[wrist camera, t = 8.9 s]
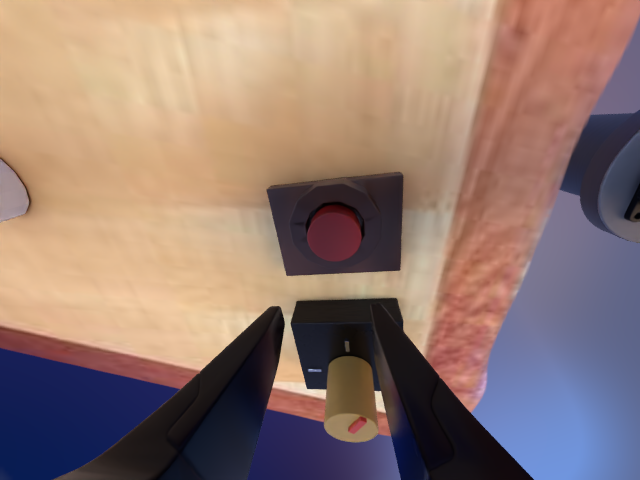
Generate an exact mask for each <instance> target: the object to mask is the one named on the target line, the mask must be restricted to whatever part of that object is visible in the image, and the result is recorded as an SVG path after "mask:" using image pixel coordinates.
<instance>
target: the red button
mask: <svg viewBox="0 0 640 480" xmlns="http://www.w3.org/2000/svg"><path fill="white" fill-rule="evenodd" d="M361 238H362V236H361V229H360V223H359V220H358V218H357V216H356V215H355V213H354V212H353V211H352V210H350V209H349V208H347V207H344V206H341V205H329V206H325V207H323V208H321V209H320V210H319V211H317V212H316V213H315V215H314V216H313V218H312V221H311V223H310V226H309V229H308V233H307V240H308V244H309V246H310V248H311V250H312V251H313V252H314V253H315V254H316V255H317V256H318V257H320V258H322V259H324V260H327V261H343V260H346V259H348V258H350V257H351V256H352V255H354V254H355V253H356V252H357V250H358V249H359V247H360V244H361Z"/></svg>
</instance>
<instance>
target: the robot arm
mask: <svg viewBox="0 0 640 480" xmlns="http://www.w3.org/2000/svg"><path fill="white" fill-rule="evenodd" d="M624 219H626V220H628V221H631V222H640V183H639V185H638V187H637V189H636V191H635V194H634V196H633V198H632V200H631V202H630V204H629V206H628V208H627V210H626V212H625V214H624ZM370 314H371V329H372V338H373V348H374V358H375V365H376V370H377V375H378V379H379V384H380V388H381V393H382V397H383V401H384V406H385V410H386V415H387V419H388V424H389V428H390V433H391V437H392V442H393V446H394V451H395V455H396V460H397V464H398V469H399V473H400V478H401V480H534V479H533V478H532V477H531V476H530V475H529V474H528V473H527V472H526V471H525V470H524V469H523V468H522V467H521V466H520V465H519V463H518V462H517V461H516V460H515V459H514V458H513V457H512V456H511V455H510V454H509V453H508V452H507V451H506V450H505V449H504V448H503V447H502V446H501V445H500V444H499V443H498V442H497V441H496V440H495V438H494V437H493V436H491V434H490V433H489V432H488V431H487V430H486V429H485V428H484V427H483V426H482V425H481V424H480V423H479V422H478V421H477V420H476V418H475V417H474V416H473V415H472V414H471V413H470V412H469V411H468V410H467V409H466V408H465V406H464V405H463V404H462V403H461V402H460V400H459V399H458V398H457V397H456V396H455V395H454V393H453V392H452V391H451V390H450V389H449V387H448V386H447V385H446V384H445V382H444V381H443V380H442V379H441V378H440V377H439V375H438V374H437V373H436V371H435V370H434V369H433V368H432V366H431V365H430V364H429V363H428V361H427V360H426V359H425V358H424V356H423V355H422V354H421V353H420V351H419V350H418V349H417V348H416V346H415V345H414V344H413V343H412V341H411V340H410V339H409V338H408V336H407V335H406V334H405V333H404V331H403V330H402V329H401V328H400V327H399V325H398V324H397V323H396V322H395V320H394V319H393V318H392V317H391V315H390V314H389V313H388V312H387V310H386V309H385V308H384V307H383V305H382V304H371V305H370ZM284 327H285V322H284V317H283V314H282V310H281V307H279V306H271V307H269V308H268V309H267V310H266V311H265V312H264V313H263V314H262V315H261V316H259V317H258V318H257V319H256V320H255V321H254V322H253V323H252V324H251V325H250V326H249V327H248V328H247V329H245V330H244V331H243V332H242V333H241V334H240V335H239V336H238V337H237V338H236V339H235V340H234V341H233V342H231V343H230V344H229V345H228V346H227V347H226V348H225V349H224V350H223V351H222V352H221V353H220V354H219V355H217V356H216V357H215V358H214V359H213V360H212V361H211V362H210V363H209V364H208V365H207V366H206V367H205V368H204V369H202V370H201V371H200V374H197V375H196V376H195V377H194V378H193V379H192V380H191V381H189V382H188V383H187V384H186V385H185V386H184V387H183V388H182V389H181V390H180V391H178V392H177V393H176V394H175V395H174V396H173V397H172V398H170V399H169V400H168V401H167V402H166V403H165V404H163V405H162V406H161V407H160V408H158V409H157V410H156V411H155V412H154V413H153V414H151V415H150V416H149V417H148V418H146V419H145V420H144V421H143V422H141V423H140V424H139V425H138V426H137V427H135V428H134V429H133V430H132V431H130V432H129V433H128V434H127V435H126V436H124V437H123V438H122V439H121V440H119V441H118V442H117V443H116V444H115V445H113V446H112V447H111V448H109V449H108V450H107V451H106V452H104V453H103V454H101V455H100V456H99V457H97V458H96V459H94V460H93V461H91V462H89V463H88V464H86V465H84V466H82V467H80V468H78V469H77V470H74V471H72V472H70V473H67V474H65V475H63V476H61V477H58V478H56V479H53V480H247V477H248V474H249V470H250V466H251V462H252V459H253V455H254V452H255V448H256V444H257V441H258V437H259V433H260V429H261V426H262V422H263V418H264V415H265V411H266V408H267V404H268V400H269V397H270V393H271V389H272V386H273V382H274V379H275V375H276V371H277V367H278V363H279V358H280V352H281V345H282V339H283V333H284Z"/></svg>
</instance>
